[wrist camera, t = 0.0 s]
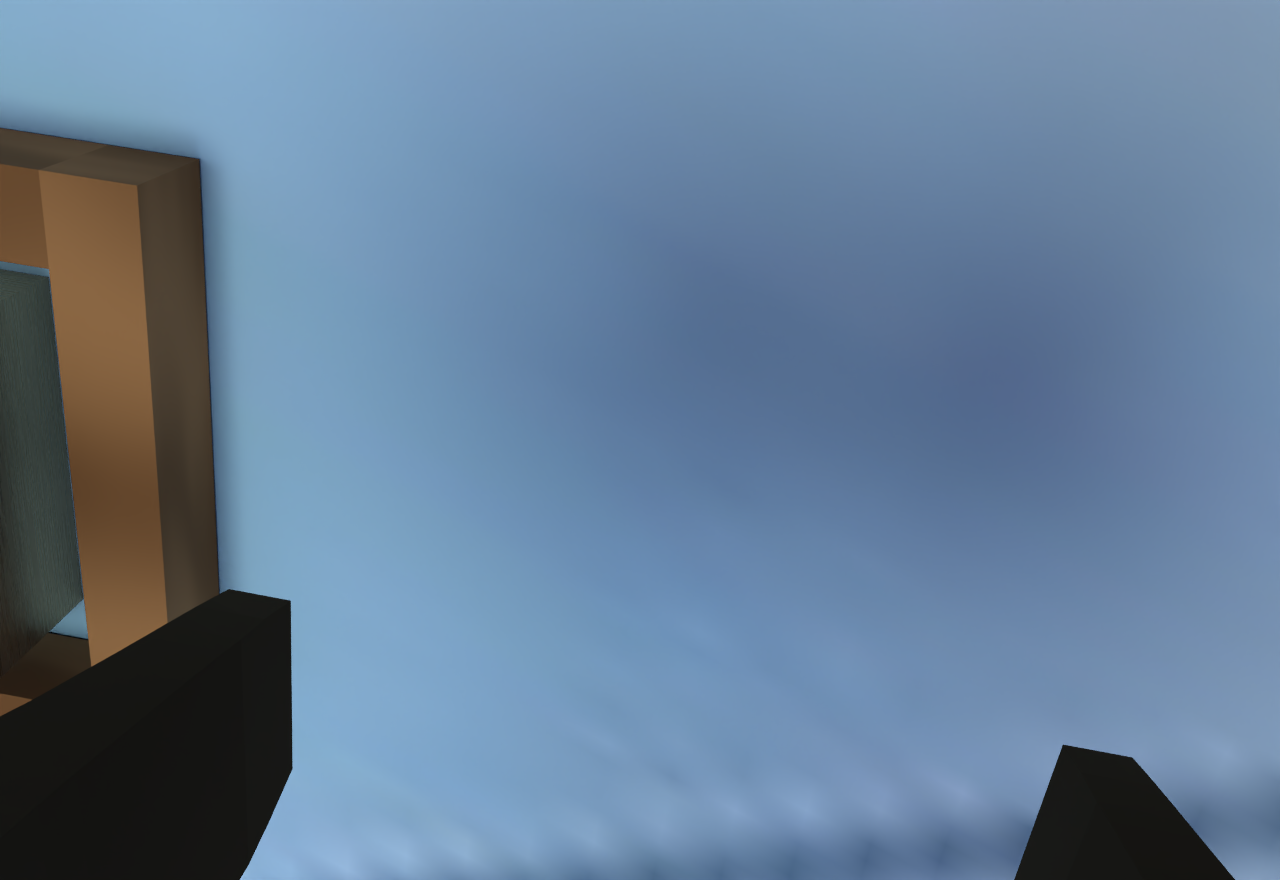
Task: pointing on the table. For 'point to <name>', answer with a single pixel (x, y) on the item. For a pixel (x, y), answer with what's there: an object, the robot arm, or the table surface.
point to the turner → (32, 473)
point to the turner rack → (120, 383)
